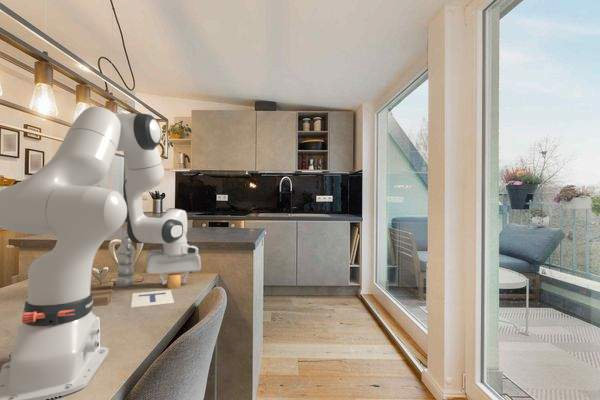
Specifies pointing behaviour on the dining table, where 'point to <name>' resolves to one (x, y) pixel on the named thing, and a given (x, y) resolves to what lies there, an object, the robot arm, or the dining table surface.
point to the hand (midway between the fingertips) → (174, 283)
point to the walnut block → (101, 297)
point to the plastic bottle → (125, 263)
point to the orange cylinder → (174, 280)
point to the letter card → (151, 298)
